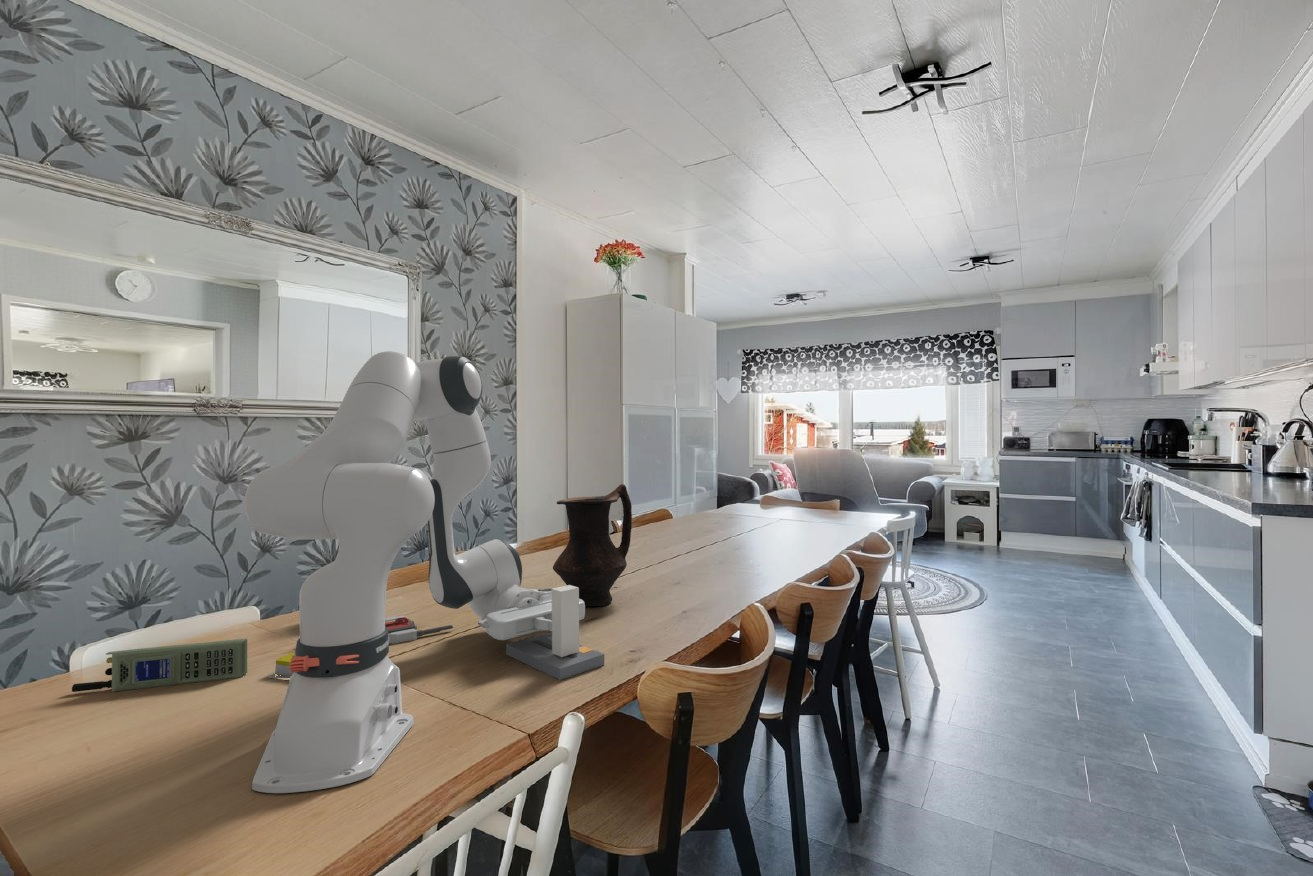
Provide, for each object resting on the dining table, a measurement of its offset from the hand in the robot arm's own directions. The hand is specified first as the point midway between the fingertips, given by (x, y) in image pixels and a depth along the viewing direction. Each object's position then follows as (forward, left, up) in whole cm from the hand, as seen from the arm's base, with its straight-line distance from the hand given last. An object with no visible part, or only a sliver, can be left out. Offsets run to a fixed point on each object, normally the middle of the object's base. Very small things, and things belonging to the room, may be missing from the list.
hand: (560, 625), depth 115 cm
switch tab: (-1, -1, -5) cm, 5 cm away
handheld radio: (+6, +68, -7) cm, 69 cm away
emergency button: (+9, +44, -8) cm, 46 cm away
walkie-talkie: (+23, +33, -8) cm, 41 cm away
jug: (+40, -11, -7) cm, 42 cm away
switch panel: (+2, +1, -7) cm, 7 cm away
